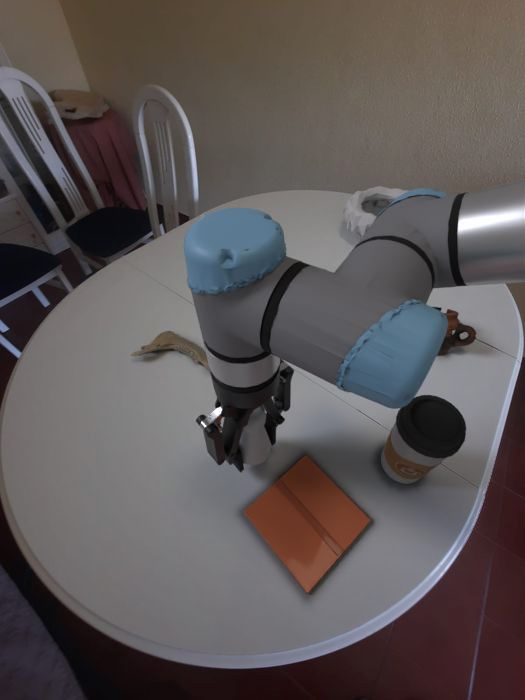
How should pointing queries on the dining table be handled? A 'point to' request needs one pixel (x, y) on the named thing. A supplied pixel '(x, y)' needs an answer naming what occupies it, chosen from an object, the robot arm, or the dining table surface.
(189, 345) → the curved driftwood piece
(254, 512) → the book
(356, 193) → the bowl
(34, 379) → the dining table surface
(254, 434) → the salt shaker
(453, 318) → the pottery mug
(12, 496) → the dining table surface
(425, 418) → the coffee cup
